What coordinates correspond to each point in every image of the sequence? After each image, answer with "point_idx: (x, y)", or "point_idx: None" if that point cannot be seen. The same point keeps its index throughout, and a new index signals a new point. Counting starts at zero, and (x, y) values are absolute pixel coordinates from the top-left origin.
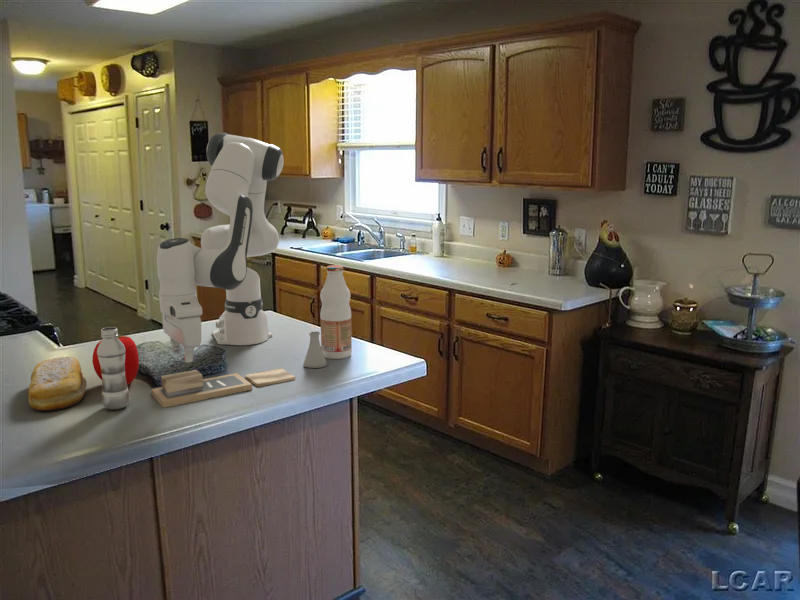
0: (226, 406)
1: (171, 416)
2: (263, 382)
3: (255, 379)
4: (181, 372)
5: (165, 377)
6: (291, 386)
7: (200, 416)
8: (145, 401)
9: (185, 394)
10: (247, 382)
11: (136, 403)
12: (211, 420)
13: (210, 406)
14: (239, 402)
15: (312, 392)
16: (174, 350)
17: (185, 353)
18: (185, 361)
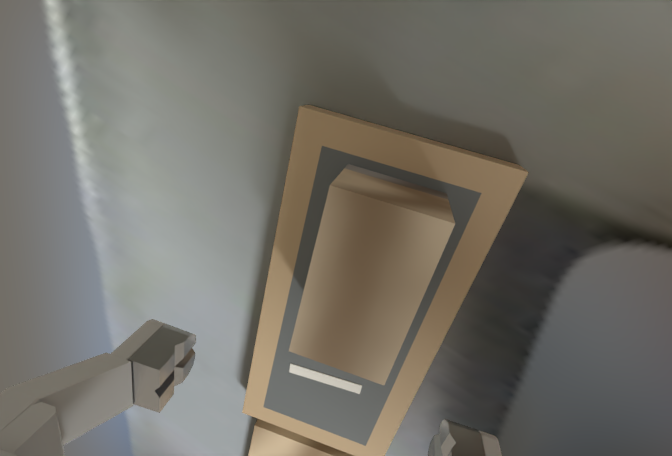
0: (168, 265)
1: (192, 72)
2: (256, 440)
3: (297, 450)
4: (409, 325)
5: (406, 224)
6: (203, 450)
7: (131, 154)
8: (458, 87)
9: (313, 230)
10: (266, 417)
11: (474, 34)
12: (79, 158)
13: (199, 235)
14: (176, 309)
15: (135, 439)
16: (453, 447)
17: (70, 368)
18: (168, 325)
